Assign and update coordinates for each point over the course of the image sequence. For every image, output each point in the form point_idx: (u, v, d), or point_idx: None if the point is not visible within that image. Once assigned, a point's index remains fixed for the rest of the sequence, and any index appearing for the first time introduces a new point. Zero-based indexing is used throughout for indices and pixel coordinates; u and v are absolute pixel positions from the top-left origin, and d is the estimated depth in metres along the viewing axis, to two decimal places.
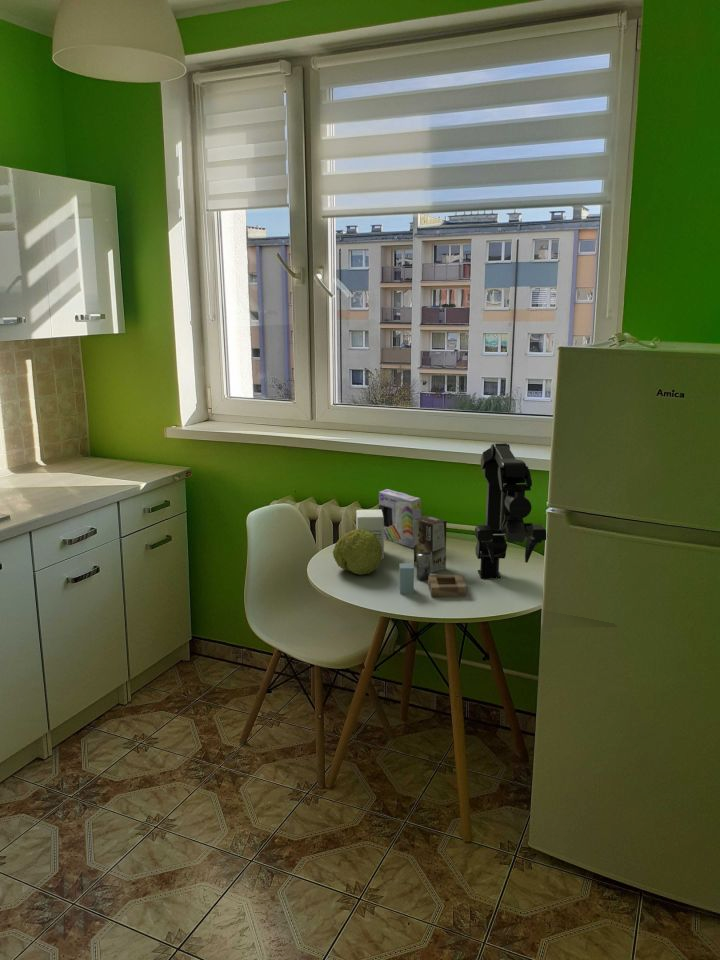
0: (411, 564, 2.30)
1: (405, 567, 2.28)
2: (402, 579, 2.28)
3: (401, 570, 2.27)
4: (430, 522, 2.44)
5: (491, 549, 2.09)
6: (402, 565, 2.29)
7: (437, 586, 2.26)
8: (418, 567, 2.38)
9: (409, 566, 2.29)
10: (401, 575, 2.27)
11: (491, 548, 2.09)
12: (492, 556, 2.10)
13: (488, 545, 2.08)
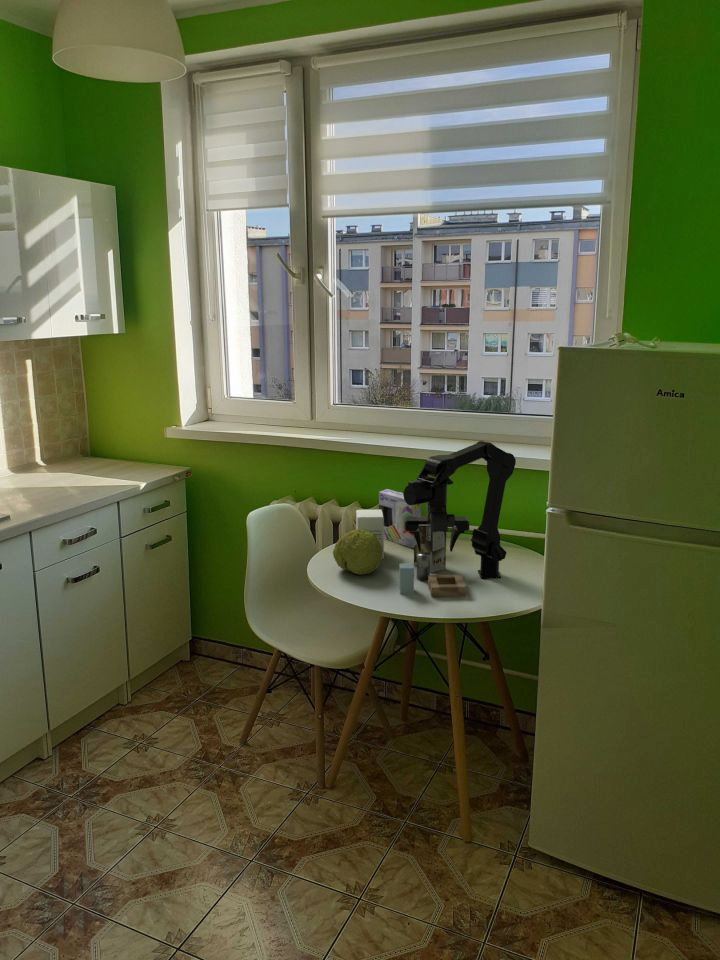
0: (411, 564, 2.30)
1: (405, 567, 2.28)
2: (402, 579, 2.28)
3: (401, 570, 2.27)
4: None
5: (418, 539, 2.25)
6: (402, 565, 2.29)
7: (437, 586, 2.26)
8: (418, 567, 2.38)
9: (409, 566, 2.29)
10: (401, 575, 2.27)
11: (418, 538, 2.25)
12: (419, 545, 2.26)
13: (415, 535, 2.24)
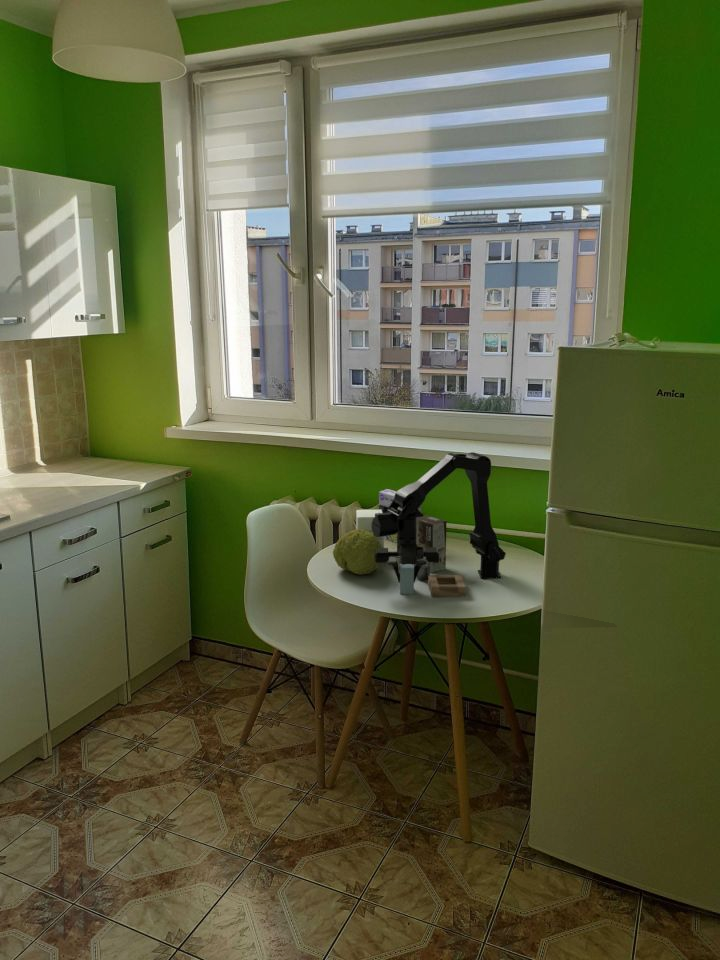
0: (411, 564, 2.30)
1: (405, 567, 2.28)
2: (402, 579, 2.28)
3: (401, 570, 2.27)
4: (430, 522, 2.44)
5: (397, 570, 2.28)
6: (402, 565, 2.29)
7: (437, 586, 2.26)
8: None
9: (409, 566, 2.29)
10: (401, 575, 2.27)
11: (397, 569, 2.28)
12: (398, 576, 2.29)
13: (393, 566, 2.27)
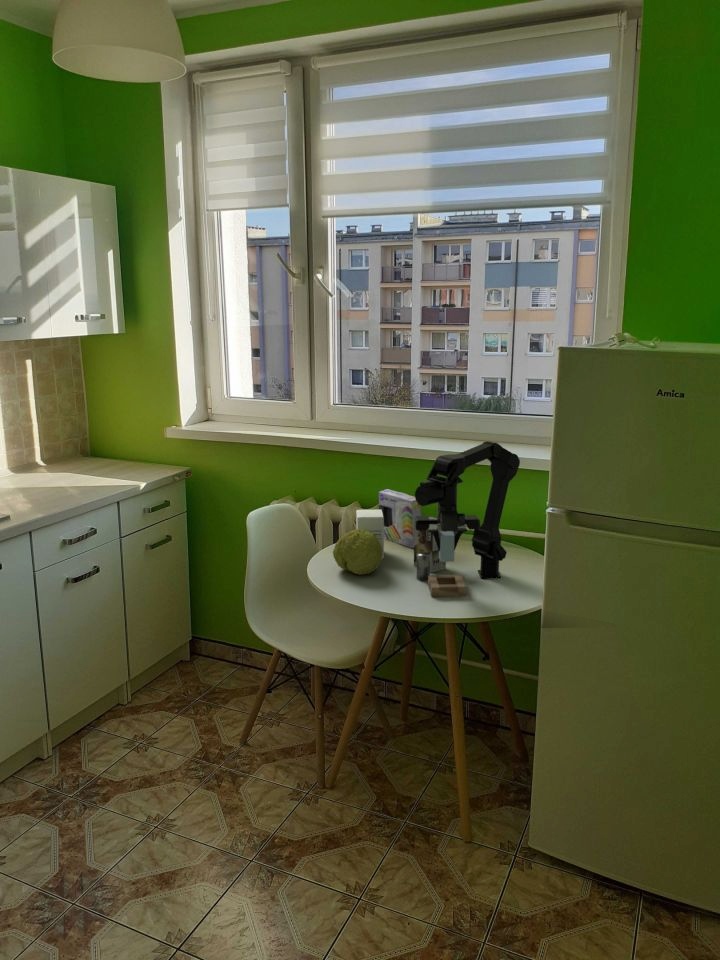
0: (451, 532, 2.28)
1: (445, 535, 2.25)
2: (442, 547, 2.26)
3: (441, 538, 2.25)
4: None
5: (437, 538, 2.26)
6: (442, 533, 2.27)
7: (437, 586, 2.26)
8: (418, 567, 2.38)
9: (449, 533, 2.26)
10: (441, 543, 2.25)
11: (437, 537, 2.25)
12: (438, 544, 2.27)
13: (434, 534, 2.25)
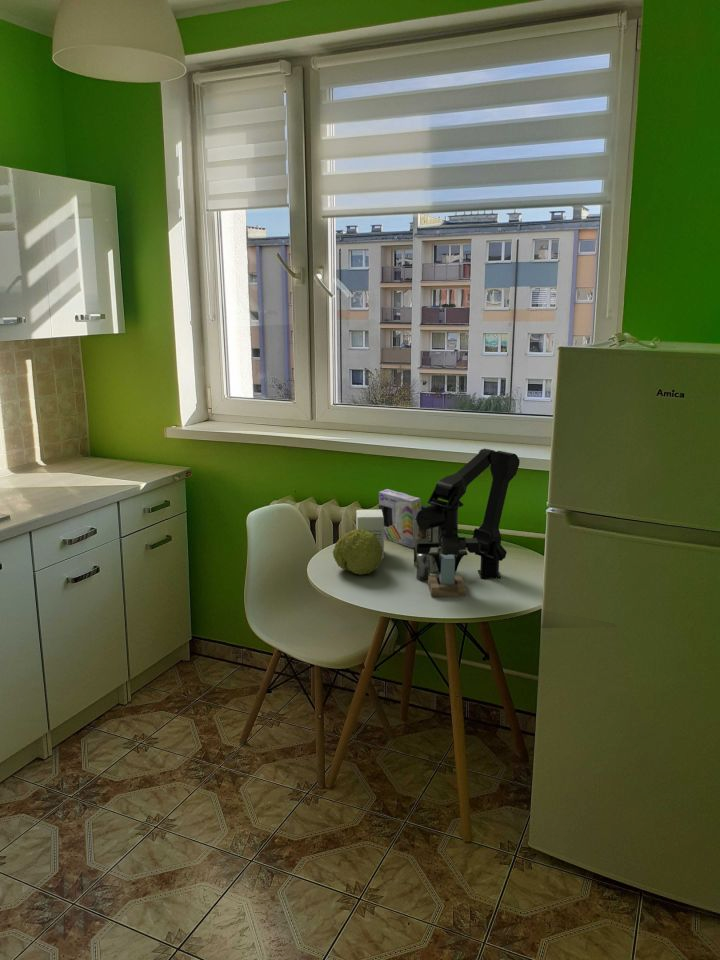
0: (452, 555, 2.29)
1: (446, 558, 2.27)
2: (443, 570, 2.27)
3: (442, 561, 2.27)
4: None
5: (438, 561, 2.27)
6: (443, 556, 2.29)
7: (437, 586, 2.26)
8: (418, 567, 2.38)
9: (449, 556, 2.28)
10: (442, 566, 2.27)
11: (437, 560, 2.27)
12: (439, 567, 2.28)
13: (435, 557, 2.26)
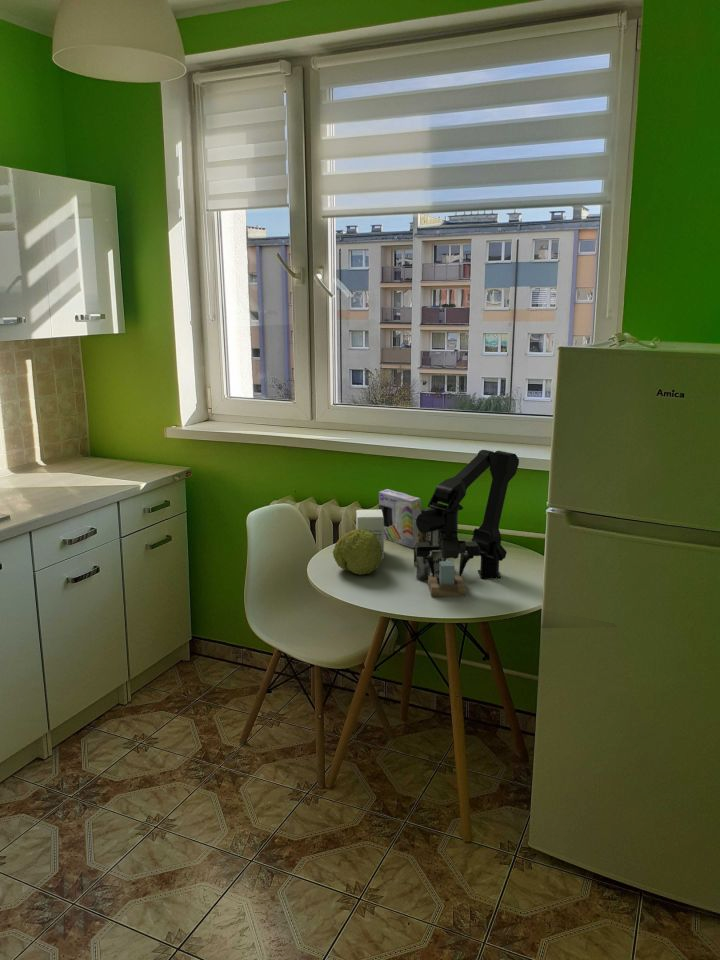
0: (451, 562, 2.30)
1: (446, 565, 2.28)
2: (443, 577, 2.28)
3: (442, 568, 2.27)
4: None
5: (431, 564, 2.27)
6: (442, 563, 2.29)
7: (437, 586, 2.26)
8: (418, 567, 2.38)
9: (449, 563, 2.29)
10: (442, 573, 2.27)
11: (431, 563, 2.27)
12: (432, 570, 2.28)
13: (428, 560, 2.27)
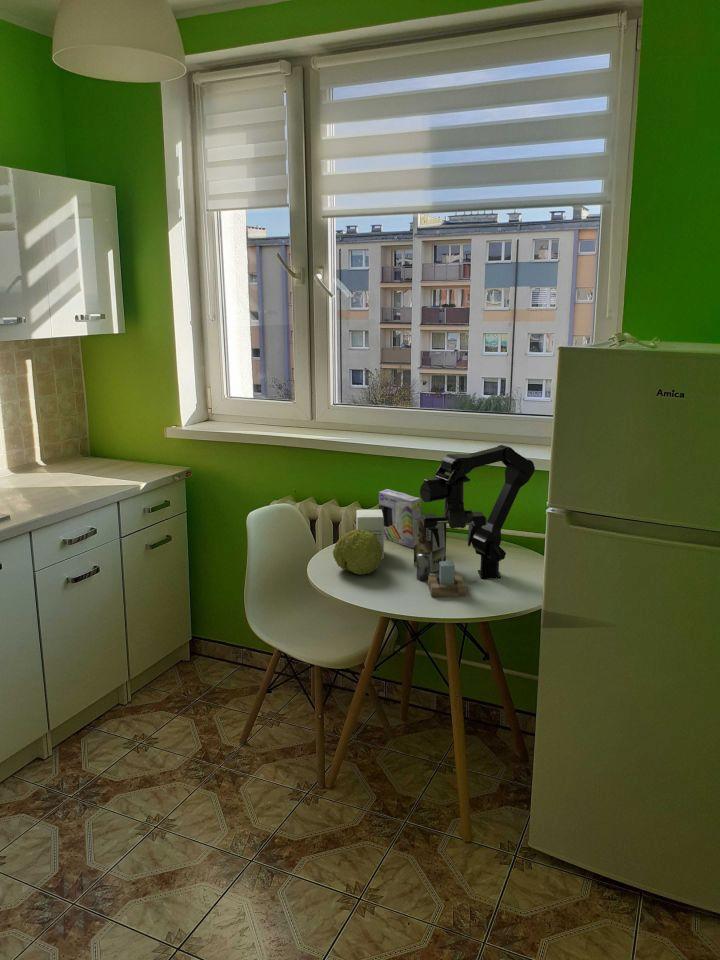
0: (451, 562, 2.30)
1: (446, 565, 2.28)
2: (443, 577, 2.28)
3: (442, 568, 2.27)
4: None
5: (436, 535, 2.31)
6: (442, 563, 2.29)
7: (437, 586, 2.26)
8: (418, 567, 2.38)
9: (449, 563, 2.29)
10: (442, 573, 2.27)
11: (436, 534, 2.31)
12: (438, 541, 2.32)
13: (433, 531, 2.30)
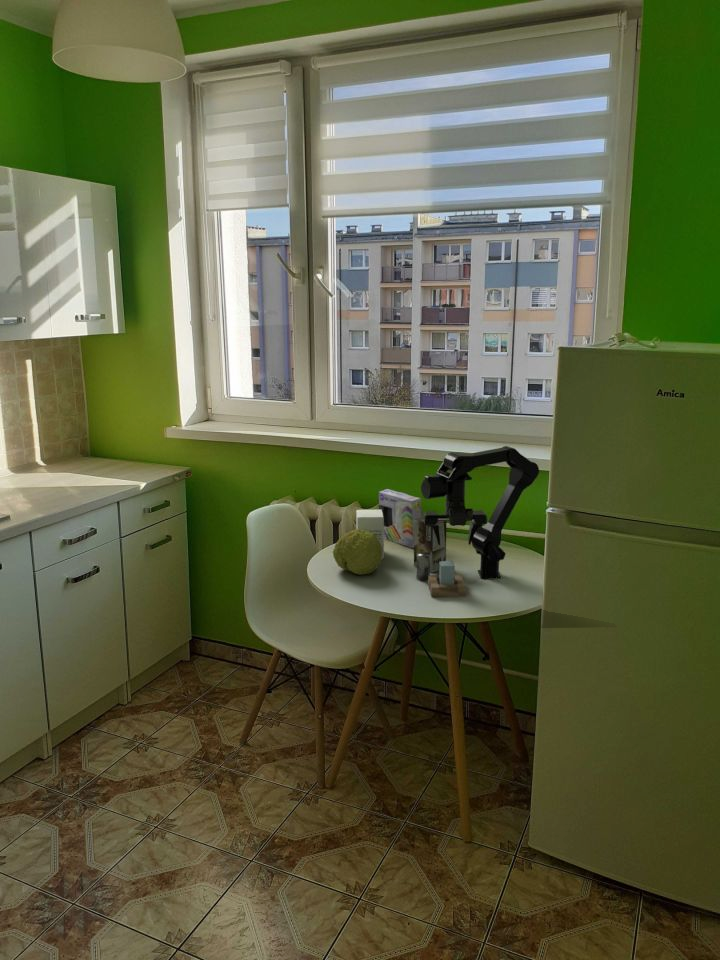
0: (451, 562, 2.30)
1: (446, 565, 2.28)
2: (443, 577, 2.28)
3: (442, 568, 2.27)
4: None
5: (437, 532, 2.32)
6: (442, 563, 2.29)
7: (437, 586, 2.26)
8: (418, 567, 2.38)
9: (449, 563, 2.29)
10: (442, 573, 2.27)
11: (437, 531, 2.32)
12: (438, 539, 2.33)
13: (434, 529, 2.32)
